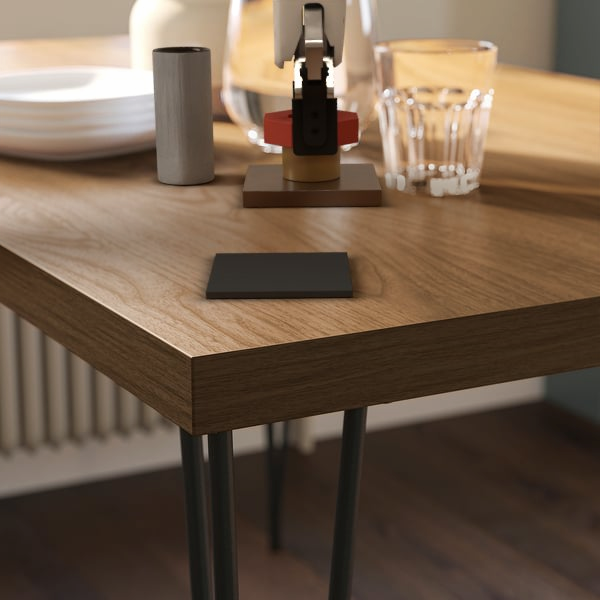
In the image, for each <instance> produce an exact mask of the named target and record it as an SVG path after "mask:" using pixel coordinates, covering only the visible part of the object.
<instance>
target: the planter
mask: <svg viewBox="0 0 600 600" xmlns="http://www.w3.org/2000/svg"><path fill="white" fill-rule="evenodd" d="M151 55H152V56H151V57H152V59H151V60H152V78H153V79H152V80H153V82H152V83H153V100H154V125H155V126H154V127H155V144H156V145H155V146H156V147H155V148H156V167H157V168H156V170H157V179H158V182H161V183H163V184H166V185H174V186H189V185H190V186H192V185H200V184H207V183H209V182H212V181H214V179H215V148H214V145H215V142H214V141H215V140H214V115H213V113H214V111H213V110H214V109H213V81H212V80H213V78H212V51H211V49H210V48H209V47H207V46H206V47H205V46H164V47H156V48H154V49H153V50H152V51H151Z"/></svg>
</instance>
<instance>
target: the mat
mask: <svg viewBox="0 0 600 600" xmlns="http://www.w3.org/2000/svg"><path fill="white" fill-rule="evenodd" d="M207 281H208V282H207V286H206V290H205V299H289V298H291V299H293V298H294V299H295V298H302V299H303V298H309V299H310V298H353V297H354V289H353V282H352V275H351V268H350V259H349V254H348V251H317V252H316V251H313V252H312V251H309V252H308V251H305V252H304V251H301V252H298V251H297V252H293V251H292V252H216V253H215V255H214V258H213V263H212V267H211V271H210V274H209V278H208V280H207Z"/></svg>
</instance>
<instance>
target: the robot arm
mask: <svg viewBox="0 0 600 600" xmlns="http://www.w3.org/2000/svg"><path fill="white" fill-rule="evenodd" d="M272 17H273V18H272V19H273V23H272V24H273V55H274V57H273V59H274V61H273V62H274V65H275V66H276V67H277V68H278V69H280V70H284V68H285V62H292V60H293V69H294V80H292V98H291V109H292V137H293V153H294V154H295V155H296V156H319V155H335V154H336V153H337V151H338V117H337V110H338V97H335V79H334V77H335V75H334V68H337V67H338V66H340V65H341V64H342V63H343V53H344V45H345V33H346V17H347V0H272Z"/></svg>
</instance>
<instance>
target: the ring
mask: <svg viewBox="0 0 600 600" xmlns="http://www.w3.org/2000/svg"><path fill="white" fill-rule="evenodd" d="M337 117H338V146H340V147H343V146H347V145H352V144H358V143H359V142H360V141H359V139H360V138H359V136H360V134H359V131H360V118H359V115H358V112H356V111H348V110H340V109H337ZM263 143H264V144H265V145H272V146H277V147H282V146H283V147H289V148H293V137H292V108H291V109H286V110H285V109H284V110H280V111H279V110H278V111H272V112H265V113H264V116H263Z"/></svg>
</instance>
